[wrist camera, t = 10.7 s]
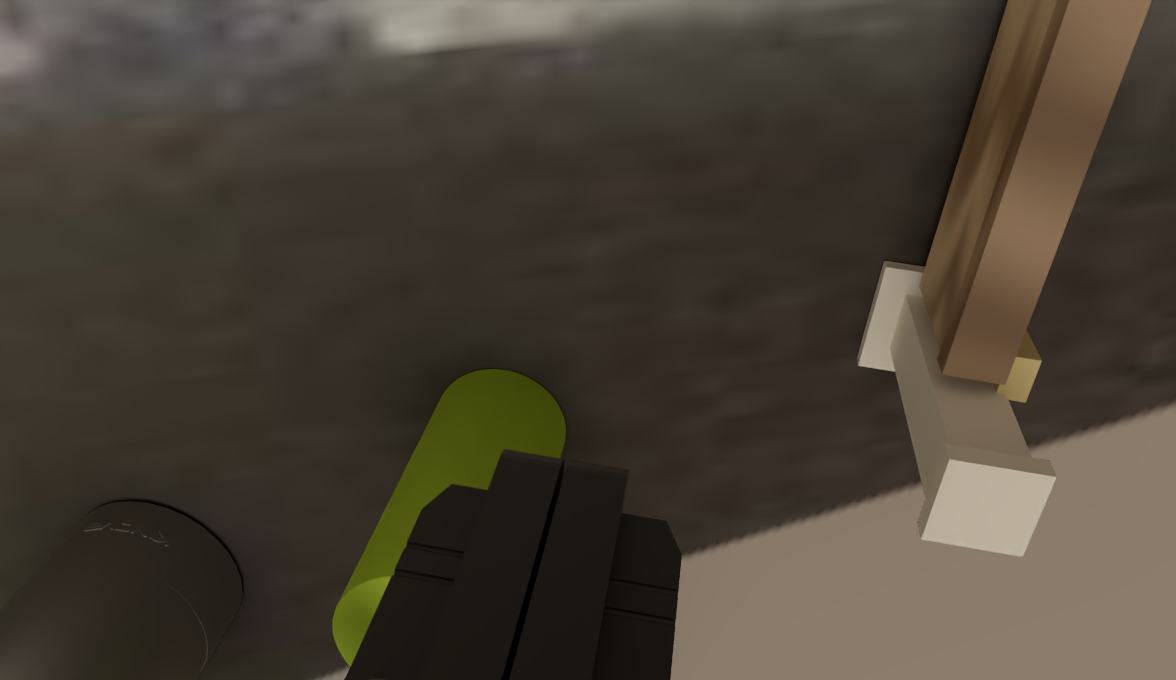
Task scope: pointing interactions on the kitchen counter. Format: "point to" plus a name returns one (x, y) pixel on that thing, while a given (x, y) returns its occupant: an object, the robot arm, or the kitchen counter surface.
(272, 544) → the kitchen counter surface
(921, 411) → the post
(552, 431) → the soap dispenser
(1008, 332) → the gate
